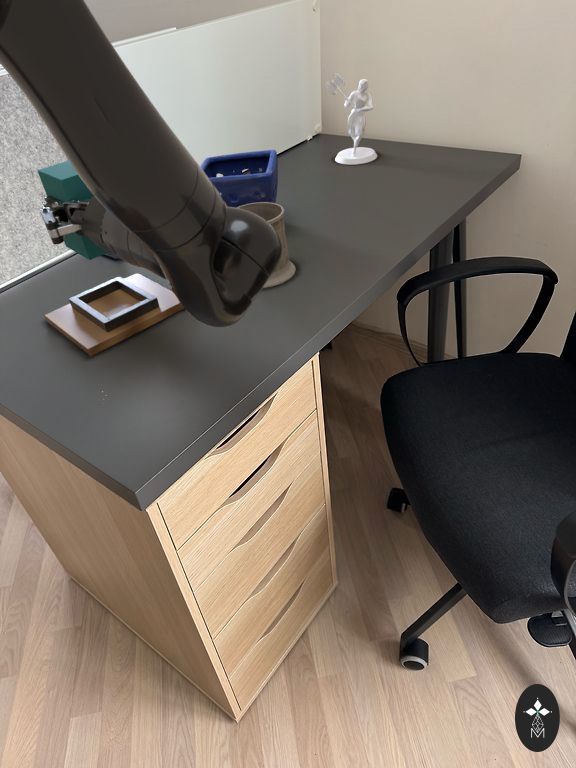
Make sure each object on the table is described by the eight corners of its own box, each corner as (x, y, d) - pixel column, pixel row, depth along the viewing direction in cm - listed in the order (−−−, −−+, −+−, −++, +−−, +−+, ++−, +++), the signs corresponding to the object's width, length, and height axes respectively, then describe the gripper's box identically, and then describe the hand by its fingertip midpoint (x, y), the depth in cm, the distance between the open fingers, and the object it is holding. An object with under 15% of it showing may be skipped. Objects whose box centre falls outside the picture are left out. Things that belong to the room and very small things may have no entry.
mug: (305, 262, 90) (298, 187, 83) (277, 292, 83) (266, 213, 76) (228, 252, 96) (215, 181, 88) (196, 279, 89) (179, 205, 82)
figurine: (329, 164, 126) (323, 74, 115) (338, 151, 133) (333, 64, 122) (373, 164, 123) (372, 71, 112) (380, 150, 130) (379, 61, 119)
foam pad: (89, 260, 71) (61, 180, 65) (65, 246, 75) (36, 170, 69) (121, 247, 73) (96, 168, 67) (96, 234, 77) (70, 159, 71)
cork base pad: (90, 356, 75) (84, 339, 73) (47, 322, 84) (40, 306, 82) (188, 306, 83) (184, 290, 81) (139, 279, 92) (135, 264, 90)
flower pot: (204, 249, 98) (189, 180, 91) (216, 219, 108) (204, 154, 101) (280, 244, 96) (271, 173, 89) (285, 213, 107) (278, 147, 99)
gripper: (182, 172, 62) (108, 151, 73) (62, 216, 56) (0, 185, 66) (196, 236, 67) (125, 207, 78) (87, 284, 60) (25, 245, 71)
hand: (68, 197), depth 72 cm, fingers closed on foam pad, 4 cm apart
